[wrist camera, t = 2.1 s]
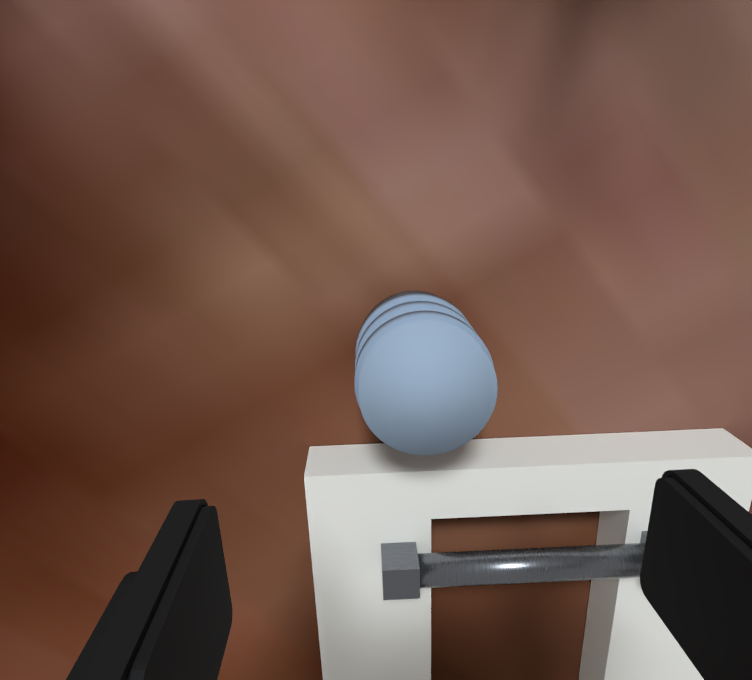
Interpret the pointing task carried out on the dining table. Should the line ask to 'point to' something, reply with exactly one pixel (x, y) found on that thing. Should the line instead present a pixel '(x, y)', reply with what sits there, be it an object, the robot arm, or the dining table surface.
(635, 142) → the dining table surface
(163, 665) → the robot arm
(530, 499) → the white frame with handle
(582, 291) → the dining table surface
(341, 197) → the dining table surface
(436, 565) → the dark gray bar handle
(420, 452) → the stacked blue discs
